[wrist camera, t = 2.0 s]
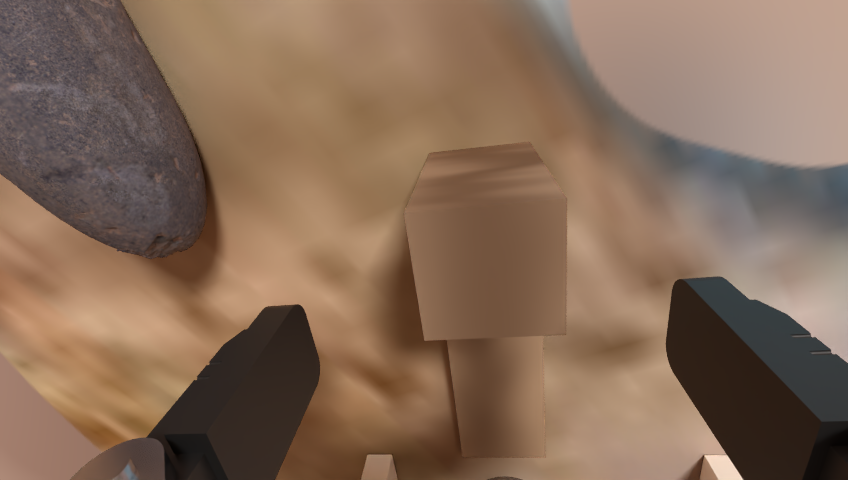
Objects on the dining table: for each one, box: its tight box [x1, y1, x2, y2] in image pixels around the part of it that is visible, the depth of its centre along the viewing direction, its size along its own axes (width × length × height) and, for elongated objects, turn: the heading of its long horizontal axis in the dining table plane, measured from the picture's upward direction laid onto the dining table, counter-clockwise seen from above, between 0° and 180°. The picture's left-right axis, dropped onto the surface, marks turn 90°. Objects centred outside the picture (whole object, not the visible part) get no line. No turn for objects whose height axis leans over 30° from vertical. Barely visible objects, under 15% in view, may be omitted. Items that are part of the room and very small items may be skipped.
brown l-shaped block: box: [404, 142, 567, 458], centre depth 17 cm, size 4×16×7 cm, turn 7°
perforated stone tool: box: [0, 0, 207, 259], centre depth 14 cm, size 15×5×7 cm, turn 22°
